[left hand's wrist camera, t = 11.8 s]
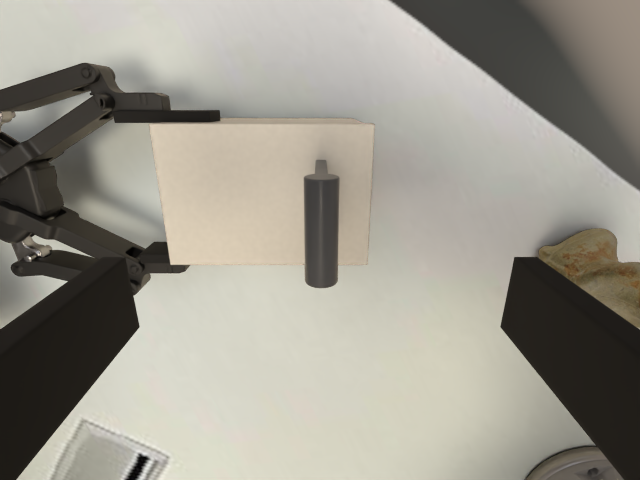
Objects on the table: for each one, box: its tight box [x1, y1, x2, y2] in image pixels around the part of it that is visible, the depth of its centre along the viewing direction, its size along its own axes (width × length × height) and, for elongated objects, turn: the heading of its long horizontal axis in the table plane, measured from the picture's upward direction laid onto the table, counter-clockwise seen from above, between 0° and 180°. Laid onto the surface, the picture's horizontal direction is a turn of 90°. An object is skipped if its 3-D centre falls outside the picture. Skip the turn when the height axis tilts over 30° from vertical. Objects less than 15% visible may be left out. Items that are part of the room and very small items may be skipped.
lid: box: [149, 123, 375, 288], centre depth 22 cm, size 14×10×8 cm
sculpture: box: [539, 228, 640, 328], centre depth 30 cm, size 6×7×15 cm
